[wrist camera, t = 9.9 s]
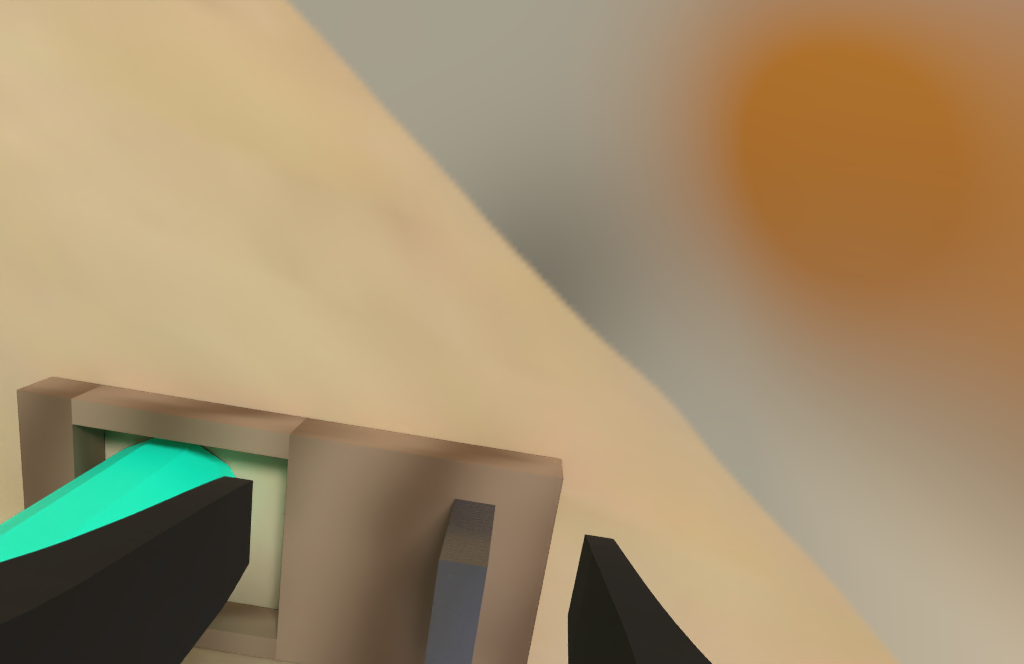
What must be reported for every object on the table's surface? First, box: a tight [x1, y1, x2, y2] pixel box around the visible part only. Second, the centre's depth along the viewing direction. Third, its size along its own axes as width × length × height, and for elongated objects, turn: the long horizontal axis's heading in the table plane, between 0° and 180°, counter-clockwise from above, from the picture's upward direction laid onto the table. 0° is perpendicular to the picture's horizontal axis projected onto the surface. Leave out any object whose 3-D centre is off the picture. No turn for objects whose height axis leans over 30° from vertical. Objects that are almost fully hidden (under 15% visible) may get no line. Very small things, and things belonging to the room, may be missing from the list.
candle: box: [0, 438, 235, 562], centre depth 17 cm, size 6×6×12 cm
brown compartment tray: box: [17, 377, 563, 664], centre depth 20 cm, size 20×10×5 cm, turn 81°
